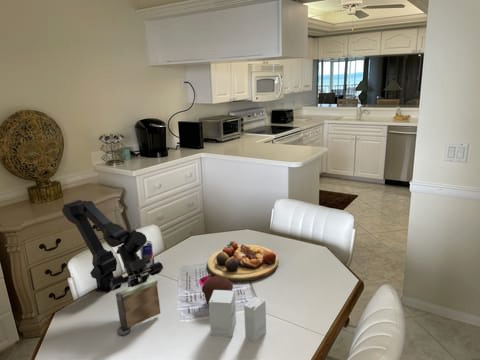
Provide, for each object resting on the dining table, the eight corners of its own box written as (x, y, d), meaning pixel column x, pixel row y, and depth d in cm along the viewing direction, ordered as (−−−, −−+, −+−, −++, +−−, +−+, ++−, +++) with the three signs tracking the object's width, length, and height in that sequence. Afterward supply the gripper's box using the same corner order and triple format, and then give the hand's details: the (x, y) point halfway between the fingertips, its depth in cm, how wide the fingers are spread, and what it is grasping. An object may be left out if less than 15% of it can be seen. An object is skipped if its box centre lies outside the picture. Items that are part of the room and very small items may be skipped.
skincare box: (256, 327, 120) (254, 295, 116) (267, 332, 117) (266, 300, 113) (244, 337, 115) (242, 304, 112) (255, 343, 112) (254, 309, 109)
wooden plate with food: (290, 256, 166) (290, 240, 164) (255, 290, 140) (254, 271, 138) (233, 244, 183) (232, 229, 181) (192, 272, 158) (191, 254, 156)
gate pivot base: (120, 338, 118) (119, 335, 117) (115, 331, 121) (115, 328, 121) (133, 332, 120) (132, 329, 120) (128, 325, 123) (128, 323, 123)
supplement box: (232, 337, 115) (230, 303, 112) (210, 336, 116) (207, 302, 113) (237, 322, 122) (235, 290, 119) (215, 321, 123) (213, 289, 120)
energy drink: (151, 270, 159) (148, 246, 156) (140, 270, 160) (137, 245, 157) (156, 264, 164) (153, 240, 161) (146, 264, 165) (142, 240, 162)
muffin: (220, 290, 142) (218, 267, 139) (240, 301, 134) (238, 277, 131) (196, 304, 134) (194, 280, 131) (216, 316, 126) (214, 291, 123)
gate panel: (122, 330, 119) (116, 296, 115) (120, 328, 120) (114, 293, 117) (161, 313, 127) (157, 280, 123) (159, 311, 128) (155, 278, 125)
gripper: (107, 258, 122) (123, 301, 116) (158, 241, 133) (175, 280, 127) (103, 270, 130) (118, 310, 125) (152, 253, 141) (167, 290, 135)
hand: (145, 297), depth 128 cm, fingers closed
